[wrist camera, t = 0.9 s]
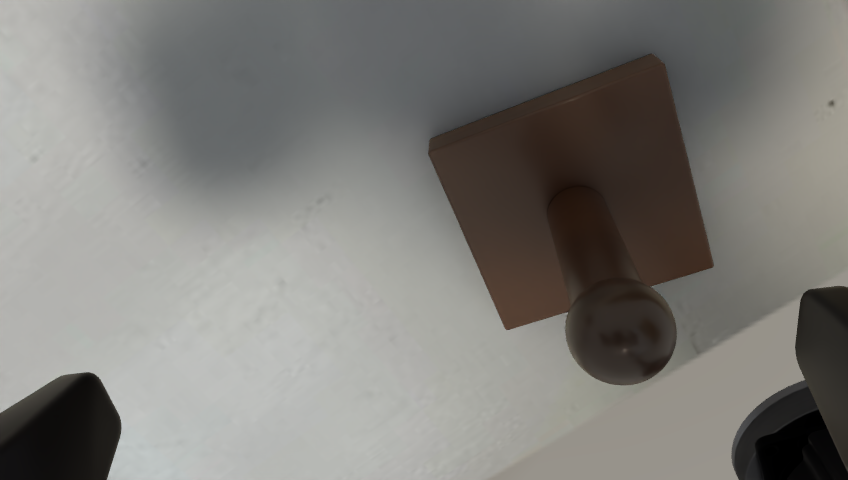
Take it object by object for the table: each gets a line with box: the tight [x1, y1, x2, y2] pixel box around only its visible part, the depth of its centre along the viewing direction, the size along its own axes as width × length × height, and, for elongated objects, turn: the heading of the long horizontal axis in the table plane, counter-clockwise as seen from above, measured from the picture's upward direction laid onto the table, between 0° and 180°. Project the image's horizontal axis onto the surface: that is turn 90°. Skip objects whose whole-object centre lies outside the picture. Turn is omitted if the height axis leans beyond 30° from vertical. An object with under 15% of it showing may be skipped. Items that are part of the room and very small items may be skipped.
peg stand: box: [428, 54, 714, 385], centre depth 17 cm, size 7×7×8 cm
